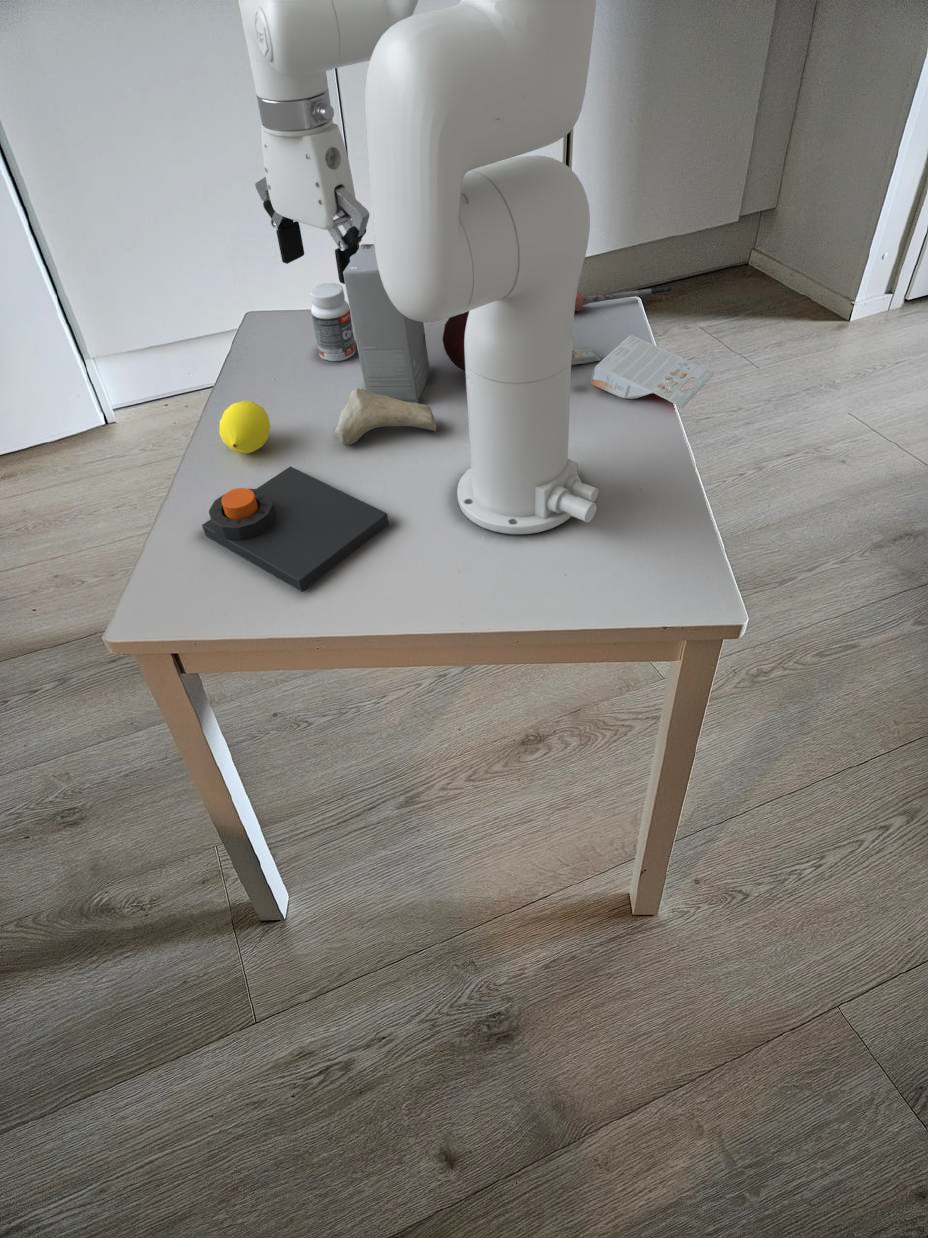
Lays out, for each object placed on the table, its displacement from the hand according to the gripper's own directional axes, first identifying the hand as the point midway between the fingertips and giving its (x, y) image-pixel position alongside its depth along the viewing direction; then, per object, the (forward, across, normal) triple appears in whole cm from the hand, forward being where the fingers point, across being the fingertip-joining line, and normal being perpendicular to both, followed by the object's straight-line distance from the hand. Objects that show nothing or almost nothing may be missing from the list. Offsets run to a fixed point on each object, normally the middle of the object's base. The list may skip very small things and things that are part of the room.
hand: (321, 268), depth 104 cm
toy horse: (+10, -29, -12) cm, 33 cm away
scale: (+10, -23, +28) cm, 38 cm away
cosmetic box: (+11, -12, +2) cm, 17 cm away
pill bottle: (+11, -1, 0) cm, 11 cm away
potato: (+10, -21, -7) cm, 24 cm away
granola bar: (+9, -26, -15) cm, 31 cm away
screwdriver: (+9, -22, -26) cm, 35 cm away
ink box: (+8, -32, -15) cm, 36 cm away
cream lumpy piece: (+11, -19, +10) cm, 24 cm away
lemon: (+11, -8, +21) cm, 25 cm away
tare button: (+8, -19, +31) cm, 37 cm away
